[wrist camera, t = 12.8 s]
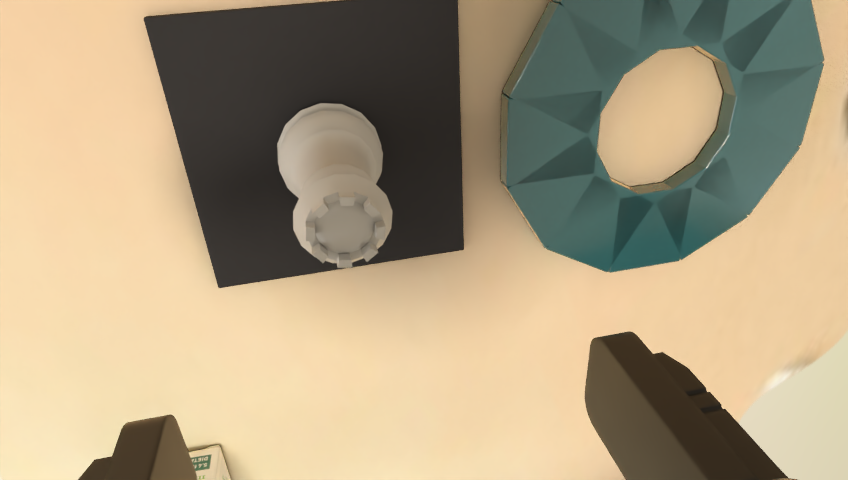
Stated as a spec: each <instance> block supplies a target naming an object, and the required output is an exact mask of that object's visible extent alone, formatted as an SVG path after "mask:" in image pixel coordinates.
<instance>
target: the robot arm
mask: <svg viewBox="0 0 848 480" xmlns="http://www.w3.org/2000/svg"><path fill="white" fill-rule="evenodd" d="M585 403H586V408H587V412H588V415H589V418H590V420H591V423H592V425H593V426H594V428H595V430H596V431H597V433H598V435H599V436H600V438H601V440H602V441H603V443H604V444H605V446H606V448H607V449H608V451H609V453H610V454H611V456H612V458H613V459H614V461H615V463H616V464H617V466H618V467H619V469H620V471H621V472H622V474H623V476H624V477H625V479H626V480H797V479H789V478H788V477H787V476H786V475H785V474H784V473H783V472H782V471H781V470H780V469H779V468H778V467H777V466H776V465H775V463H774V462H773V461H772V460H771V459H770V458H769V457H768V456H767V455H766V454H765V452H763V450H762V449H761V448H760V447H759V446H758V445H757V444H756V443H755V441H754V440H753V439H752V438H751V437H750V436H749V435H748V434H747V433H746V431H745V430H744V429H743V428H742V427H741V426H740V425H739V424H738V423H737V422H736V420H735V419H734V418H733V417H732V416H731V415H730V414H729V413H728V412H727V411H726V409H722V407H721V404H720V403H719V402H718V401H717V399H716V398H715V397H714V396H713V395H712V394H711V393H710V392H707V391H706V387H705V386H704V385H703V384H702V383H701V382H700V381H699V380H698V379H697V377H696V376H695V375H694V374H693V373H692V372H691V371H690V370H689V369H688V368H687V367H686V366H684V365H682V364H681V363H679V362H677V361H676V360H674V359H673V358H671V357H669V356H668V355H666V354H664V353H663V352H662V353H656V354H652V352H651V351H650V350H649V349H648V348H647V347H646V345H645V344H644V343H643V342H642V341H641V340H640V338H639V337H638V336H637V335H636V334H634V333H633V332H624V333H619V334H613V335H608V336H602V337H597V338H594V339H593V340H592V342H591V345H590V353H589V362H588V370H587V379H586V388H585ZM78 480H197V475H196V471H195V468H194V465H193V463H192V460H191V457H190V455H189V452H188V450H187V447H186V444H185V442H184V439H183V436H182V434H181V431H180V428H179V426H178V423H177V421H176V419H175V417H174V416H173V415H166V416H160V417H155V418H150V419H144V420H139V421H133V422H128V423H126V424H125V425H124V426H123V428H122V430H121V432H120V435H119V438H118V441H117V444H116V447H115V450H114V453H113V456H112V457H107V458H101V459H96V460H94V461H93V462H92V464H91V465H90V466H89V467H88V468H87V470H86V471H85V472H84V473H83V475H82V476H81V477H80V478H79V479H78Z"/></svg>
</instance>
